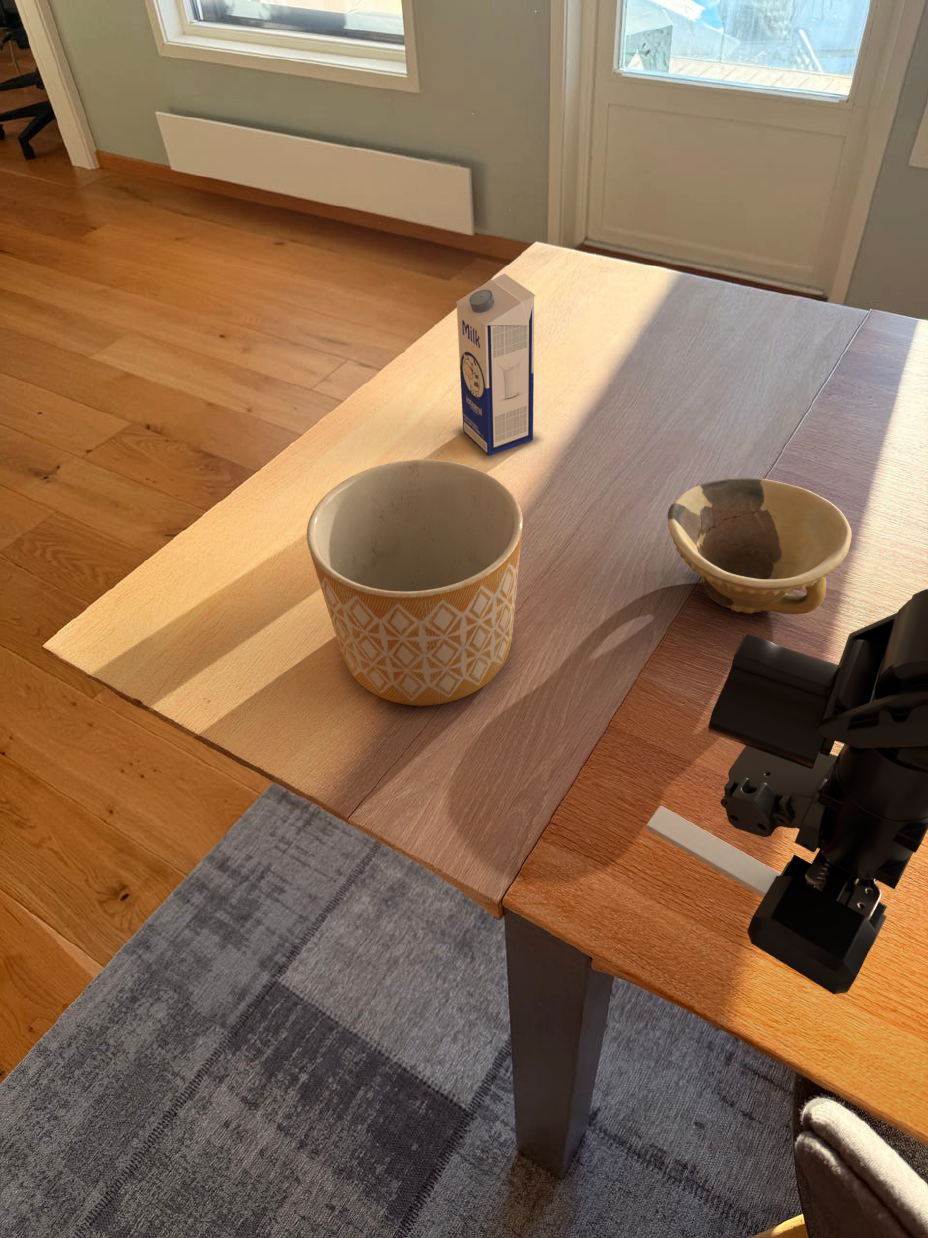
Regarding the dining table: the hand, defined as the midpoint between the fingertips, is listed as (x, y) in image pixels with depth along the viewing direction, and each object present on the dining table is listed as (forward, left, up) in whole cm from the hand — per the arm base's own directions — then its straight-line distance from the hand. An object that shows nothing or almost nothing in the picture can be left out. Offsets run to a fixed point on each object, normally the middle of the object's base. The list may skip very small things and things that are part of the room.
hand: (825, 909), depth 63 cm
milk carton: (+60, -43, -7) cm, 75 cm away
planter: (+43, -8, -7) cm, 45 cm away
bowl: (+21, -34, -7) cm, 41 cm away
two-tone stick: (+5, 0, -1) cm, 5 cm away
